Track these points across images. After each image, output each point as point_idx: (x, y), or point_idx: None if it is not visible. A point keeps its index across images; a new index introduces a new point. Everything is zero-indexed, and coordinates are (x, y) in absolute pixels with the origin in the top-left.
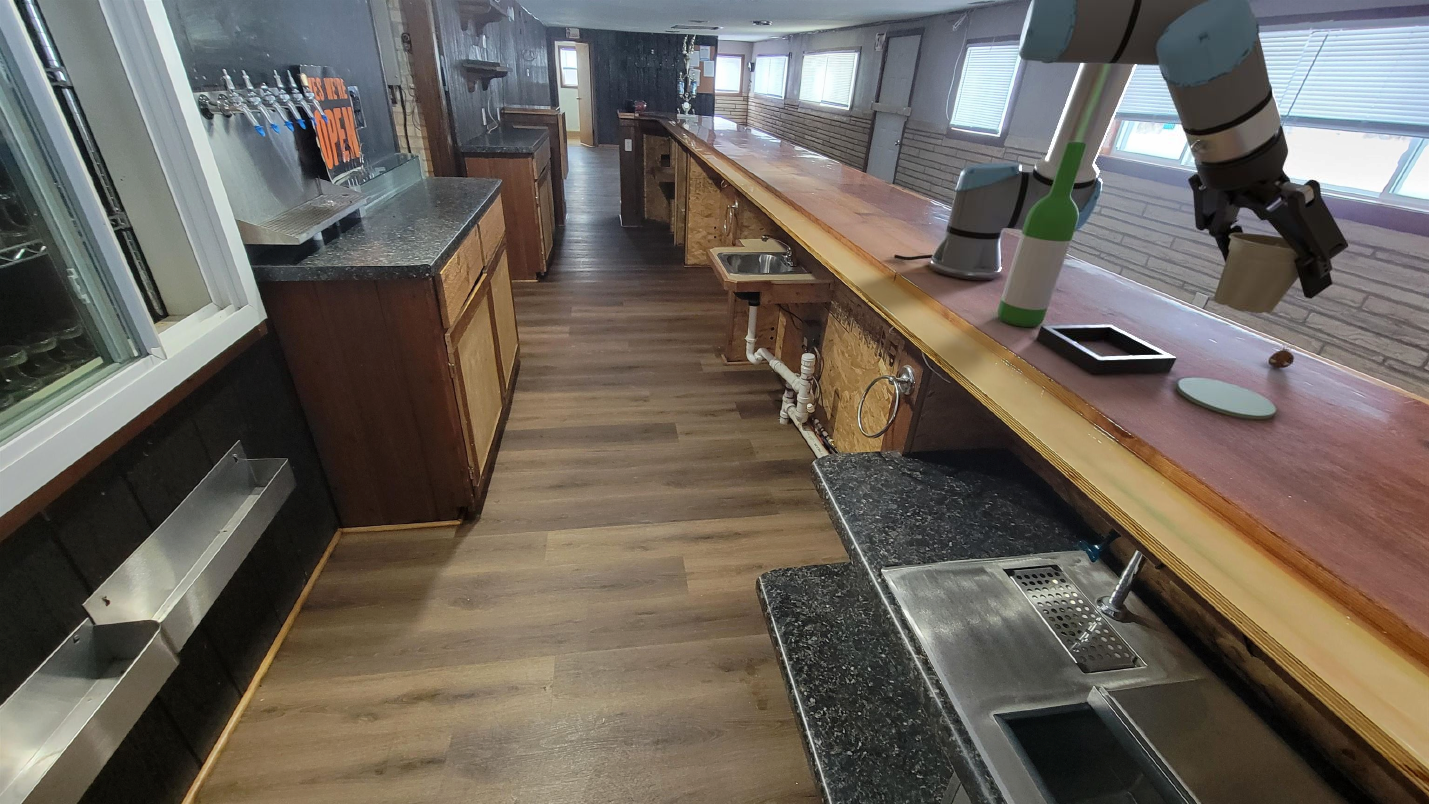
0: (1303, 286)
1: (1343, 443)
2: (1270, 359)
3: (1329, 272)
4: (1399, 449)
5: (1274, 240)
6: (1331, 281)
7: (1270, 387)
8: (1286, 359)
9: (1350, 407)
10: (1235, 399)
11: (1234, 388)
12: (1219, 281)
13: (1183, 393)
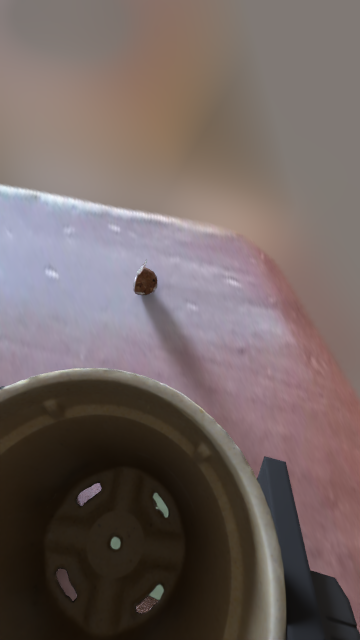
0: None
1: (330, 482)
2: (136, 292)
3: (294, 507)
4: (353, 417)
5: (25, 399)
6: (286, 472)
7: (180, 373)
8: (152, 285)
9: (254, 335)
10: None
11: None
12: (16, 605)
13: None
